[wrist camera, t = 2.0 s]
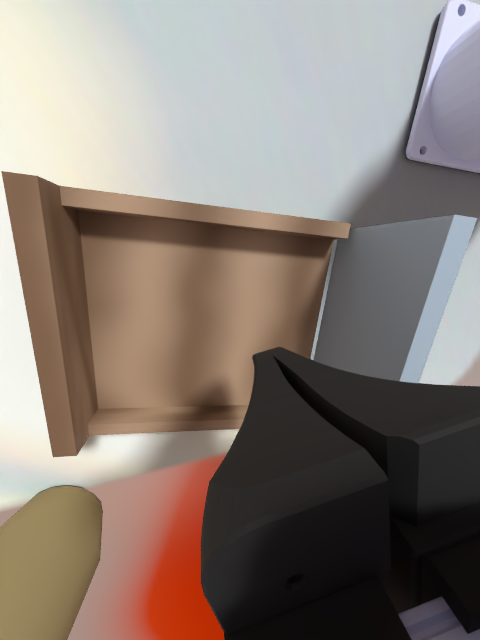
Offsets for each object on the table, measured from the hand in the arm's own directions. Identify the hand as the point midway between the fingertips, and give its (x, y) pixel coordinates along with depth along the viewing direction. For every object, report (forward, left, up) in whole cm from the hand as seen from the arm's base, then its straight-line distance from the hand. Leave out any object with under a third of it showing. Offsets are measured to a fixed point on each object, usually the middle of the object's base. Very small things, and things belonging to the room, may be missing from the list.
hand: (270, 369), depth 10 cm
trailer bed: (+3, 0, -8) cm, 8 cm away
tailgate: (-5, 0, -6) cm, 8 cm away
